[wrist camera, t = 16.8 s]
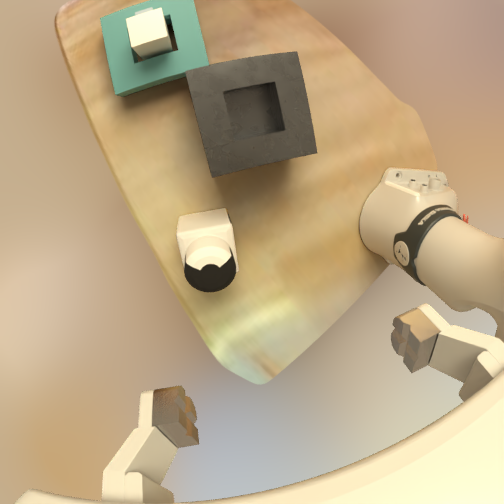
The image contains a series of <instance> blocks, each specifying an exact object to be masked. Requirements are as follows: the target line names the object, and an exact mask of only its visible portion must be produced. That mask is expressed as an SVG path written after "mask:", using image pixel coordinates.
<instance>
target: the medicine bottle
mask: <svg viewBox="0 0 504 504" xmlns="http://www.w3.org/2000/svg"><path fill="white" fill-rule="evenodd" d="M176 237H177V242H178V246H179V250H180V254H181V258H182V263H183V267H184V273H185V277H186V279H187V281H188V282H189V284H190V285H191V286H193V287H194V288H196V289H197V290H200V291H203V292H216V291H219V290H222V289H224V288H225V287H227V286H228V285H229V284H230V283H231V282H232V281H233V279H234V277H235V274H236V273H237V272H238V271H239V267H238V261H237V254H236V247H235V241H234V234H233V227H232V223H231V220H230V217H229V214H228V212H227V209H226V208H221V209H216V210H210V211H204V212H199V213H193V214H188V215H183V216H179V219H178V225H177V232H176Z"/></svg>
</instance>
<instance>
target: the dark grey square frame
mask: <svg viewBox="0 0 504 504" xmlns="http://www.w3.org/2000/svg"><path fill="white" fill-rule="evenodd" d="M185 73H186V77H187V81H188V86H189V90H190V94H191V98H192V102H193V106H194V110H195V114H196V118H197V122H198V126H199V130H200V133H201V137H202V141H203V145H204V149H205V153H206V157H207V161H208V164H209V168H210V172H211V176H212V178H213V177H217V176H221V175H224V174H228V173H232V172H236V171H240V170H244V169H248V168H252V167H256V166H260V165H264V164H269V163H273V162H278V161H282V160H287V159H291V158H296V157H301V156H306V155H311V154H316V153H317V148H316V142H315V136H314V130H313V124H312V119H311V114H310V108H309V103H308V98H307V93H306V89H305V84H304V79H303V75H302V70H301V66H300V62H299V57H298V53H297V52H287V53H277V54H269V55H262V56H255V57H248V58H242V59H237V60H231V61H226V62H221V63H216V64H212V65H207V66H203V67H199V68H195V69H191V70H187V71H185Z"/></svg>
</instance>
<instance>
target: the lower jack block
mask: <svg viewBox="0 0 504 504" xmlns="http://www.w3.org/2000/svg"><path fill="white" fill-rule="evenodd" d="M150 7H152V8H153V10H155V9H158V8H162V11H163V15H164V18H165V21H166V24H167V25H169V24H172V25H173V30H174V34H175V38H176V43H177V47H178V50H177V51H173V52H169V53H166V54H163V55H159V56H156V57H153V58H150V59H147V60H144V61H141V62H138V57H137V53H136V52H135V51H134V49H133V48H132V47H131V42H130V37H129V32H128V27H127V22H126V19H127V18H130V17H133V16H135V12H138V11H141V10H144V9H147V8H150ZM100 20H101V26H102V32H103V38H104V43H105V49H106V54H107V59H108V64H109V68H110V73H111V77H112V82H113V86H114V90H115V95H118V96H121V97H124V96H127V95H130V94H133V93H135V92H138V91H141V90H144V89H147V88H150V87H153V86H156V85H159V84H162V83H166V82H169V81H172V80H176V79H179V78H183V77H186V73H185V71H187V70H191V69H195V68H199V67H203V66H207V65H209V62H208V58H207V54H206V50H205V46H204V42H203V38H202V34H201V29H200V25H199V21H198V17H197V13H196V9H195V5H194V1H193V0H149V1H146V2H143V3H140V4H137V5H134V6H131V7H128V8H125V9H122V10H120V11H117V12H114V13H112V14H109V15H107V16H104V17H102V18H100Z"/></svg>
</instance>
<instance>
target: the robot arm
mask: <svg viewBox="0 0 504 504" xmlns="http://www.w3.org/2000/svg"><path fill="white" fill-rule="evenodd" d="M396 174H397V176H396ZM360 235H361V238H362V241H363V243H364V244H365V246H366V247H367V248H368V249H369V250H371V251H372V252H374V253H377V254H379V255H381V256H382V257H383V258H384V259H385V261H386V262H388V263H389V264H395V265H397V266H398V267H400V268H401V269H403V270H404V271H406V272H407V273H408V274H409V275H410V276H411V277H412V278H413V279H414V280H415V281H417V282H419V283H420V284H421V285H424V286H427V287H428V288H429V289H430V290H432V291H433V292H434V293H435V294H436V295H437V296H438V297H439V298H441V300H443V301H444V302H445V303H446V304H447V305H448V306H449V307H450V308H451V309H453V310H455V311H458V312H465V311H469V310H471V309H474V308H476V307H477V308H479V309H482V310H484V311H486V312H487V313H489V314H490V315H491V316H492V317H493V318H494V319H495V321H496V323H497V325H498V327H497V330H496V334H495V337H493V336H489V335H486V334H482V333H479V332H476V331H472V330H469V329H466V328H462V327H459V326H455V325H452V326H450V325H449V324H448V323H447V322H446V321H445V320H444V319H443V318H442V317H441V316H440V315H439V314H438V313H437V312H436V311H435V310H434V309H433V308H432V307H431V306H430V305H429V304H426V303H425V304H423V305H421V306H419V307H417V308H414V309H412V310H410V311H408V312H405V313H404V314H401V315H399V316H397V317H395V318H394V320H393V326H394V327H395V329H394V330H393V332H392V334H391V341H392V346H393V348H394V350H395V351H396V353H397V354H398V355H401V356H403V357H404V360H403V362H404V363H405V365H406V366H407V367H408V369H409V370H410V372H411V373H413V372H415V371H417V370H419V369H421V368H423V367H425V366H427V365H429V366H430V367H432V368H435V369H437V370H439V371H441V372H443V373H445V374H447V375H449V376H451V377H453V378H455V379H457V380H459V381H461V382H463V383H464V384H463V386H462V388H461V390H460V392H459V396H460V397H461V399H462V400H463V401H464V402H463V403H461V404H460V405H459V406H457V407H456V408H454V409H453V410H452V411H450V412H448V413H447V414H445V415H444V416H442V417H441V418H439V419H438V420H436V421H435V422H433V423H431V424H430V425H428V426H426V427H425V428H423V429H421V430H420V431H418V432H416V433H414V434H412V435H411V436H409V437H407V438H405V439H403V440H401V441H399V442H398V443H396V444H394V445H392V446H390V447H388V448H386V449H384V450H382V451H379V452H377V453H375V454H373V455H371V456H369V457H367V458H364V459H362V460H359V461H357V462H354V463H352V464H350V465H347V466H345V467H342V468H339V469H337V470H334V471H332V472H328V473H326V474H323V475H320V476H317V477H314V478H311V479H307V480H304V481H301V482H297V483H294V484H290V485H286V486H283V487H279V488H275V489H271V490H266V491H262V492H257V493H252V494H247V495H241V496H235V497H229V498H222V499H215V500H206V501H196V502H182V503H174V497H173V493H172V492H171V491H169V490H167V489H165V488H164V487H162V486H160V484H161V482H162V481H163V479H164V477H165V475H166V473H167V471H168V469H169V467H170V464H171V463H172V461H173V459H174V456H175V455H176V452H177V450H178V448H179V447H186V446H192V445H197V444H199V439H198V429H197V428H196V427H195V426H194V423H195V422H196V420H197V416H196V411H195V407H194V404H193V402H192V400H191V399H190V397H187V396H185V390H184V388H183V387H182V386H175V387H169V388H162V389H156V390H150V391H143V392H142V394H141V397H140V408H139V421H138V428H135V429H134V430H133V431H132V433H131V434H130V436H129V437H128V439H127V440H126V441H125V442H124V444H123V445H122V446H121V448H120V449H119V451H118V452H117V453H116V455H115V456H114V458H113V459H112V460H111V462H110V463H109V464H108V466H107V467H106V468H105V470H104V471H103V485H102V501H97V500H89V499H81V498H75V497H69V496H63V495H58V494H53V493H48V492H44V491H41V490H36V489H29V490H27V491H26V492H25V493H24V494H23V495H22V496H21V497H20V498H19V499H18V500H17V501H16V502H15V503H14V504H504V238H498V237H494V236H491V235H489V234H487V233H485V232H483V231H481V230H479V229H477V228H475V227H473V226H471V225H470V224H468V216H467V219H465V214H463V220H462V219H461V217H460V216H459V215H458V199H457V196H456V193H455V192H454V190H452V189H451V188H449V185H448V181H447V178H446V176H445V174H444V173H443V172H440V171H433V170H422V169H409V168H393V167H390V168H388V169H387V170H386V171H385V173H384V175H383V177H382V180H381V182H380V184H379V185H378V186H377V187H376V188H375V190H374V191H373V192H372V193H371V194H370V195H369V197H368V198H367V200H366V202H365V204H364V206H363V209H362V212H361V216H360Z"/></svg>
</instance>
